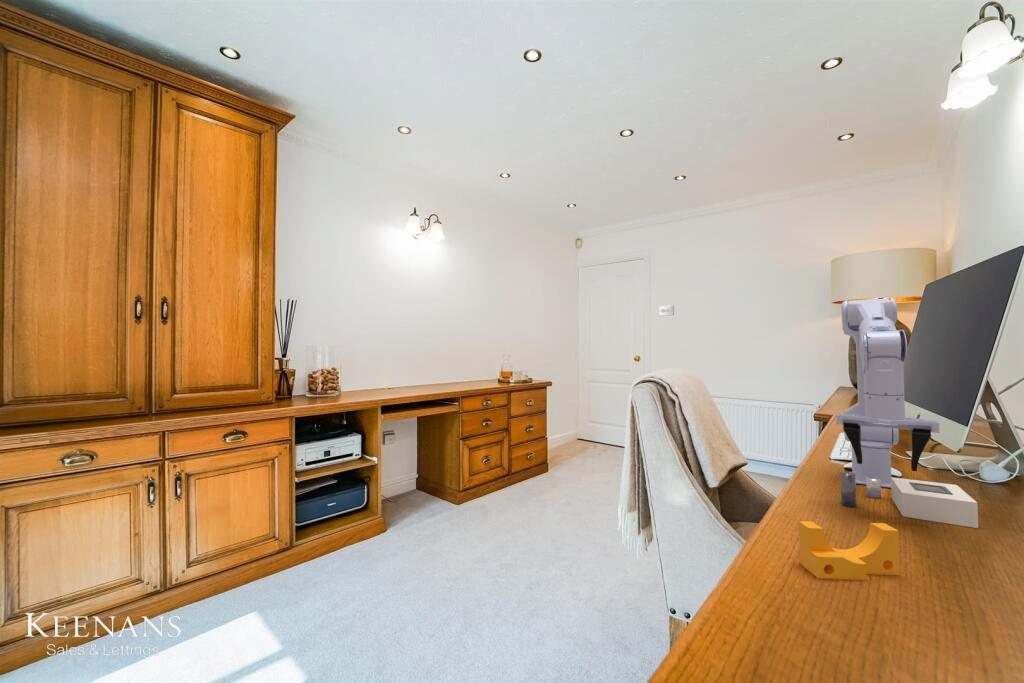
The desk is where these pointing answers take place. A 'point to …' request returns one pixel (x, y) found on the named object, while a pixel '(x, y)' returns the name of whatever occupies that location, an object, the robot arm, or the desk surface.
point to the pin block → (934, 502)
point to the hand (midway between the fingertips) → (886, 466)
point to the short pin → (873, 487)
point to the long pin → (848, 489)
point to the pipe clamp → (849, 553)
